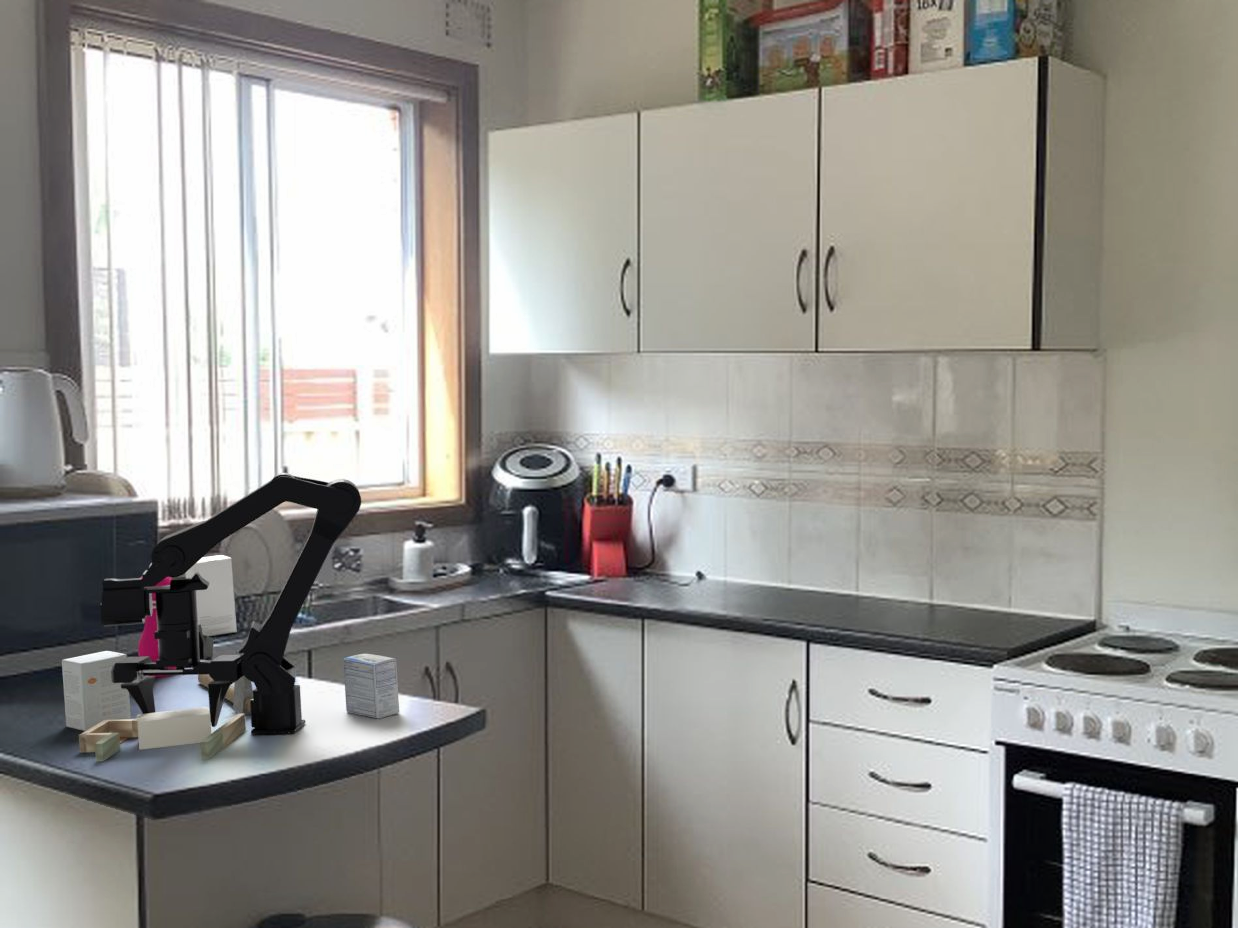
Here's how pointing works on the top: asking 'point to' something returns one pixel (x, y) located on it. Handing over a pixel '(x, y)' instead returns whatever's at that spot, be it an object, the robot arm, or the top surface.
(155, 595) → the robot arm
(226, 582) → the skincare box
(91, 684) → the small box
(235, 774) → the top surface
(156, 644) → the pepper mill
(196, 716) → the cream block
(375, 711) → the medicine box
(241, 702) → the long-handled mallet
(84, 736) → the u-shaped wooden frame
